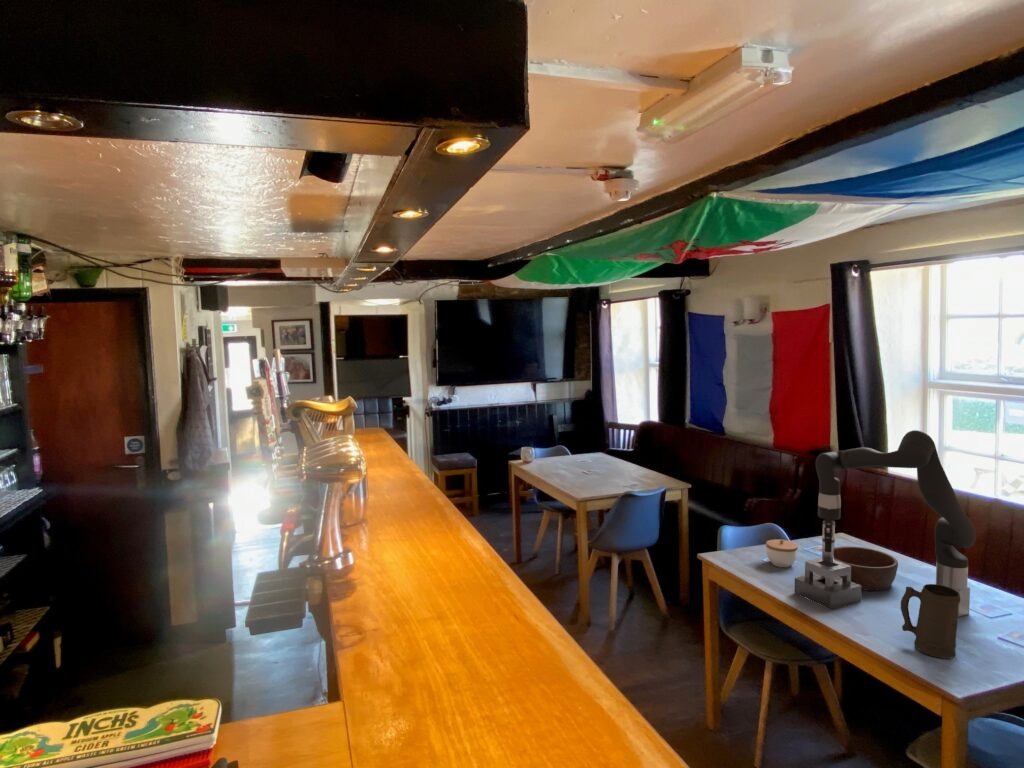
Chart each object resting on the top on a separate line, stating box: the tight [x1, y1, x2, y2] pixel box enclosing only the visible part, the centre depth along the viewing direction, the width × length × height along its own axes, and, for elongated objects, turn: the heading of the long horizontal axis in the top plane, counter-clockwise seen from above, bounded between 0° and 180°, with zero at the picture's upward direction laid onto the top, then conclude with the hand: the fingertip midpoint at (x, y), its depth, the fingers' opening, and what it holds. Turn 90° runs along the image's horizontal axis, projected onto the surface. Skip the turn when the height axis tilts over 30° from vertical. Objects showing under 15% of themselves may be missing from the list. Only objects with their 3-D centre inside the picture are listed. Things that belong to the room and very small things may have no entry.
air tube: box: [821, 527, 836, 562], centre depth 233 cm, size 4×4×14 cm
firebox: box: [794, 557, 862, 610], centre depth 235 cm, size 16×16×13 cm
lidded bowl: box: [765, 538, 799, 568], centre depth 268 cm, size 13×13×11 cm
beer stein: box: [900, 583, 961, 659], centre depth 195 cm, size 15×11×20 cm
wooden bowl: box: [834, 545, 899, 591], centre depth 249 cm, size 25×25×10 cm
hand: (828, 549), depth 234 cm, fingers closed on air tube, 4 cm apart
